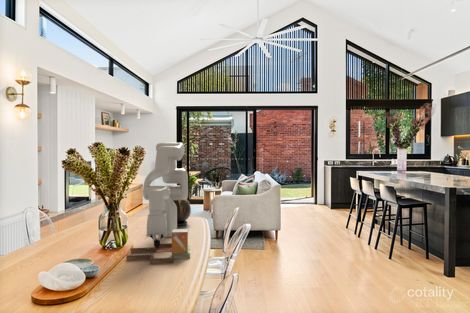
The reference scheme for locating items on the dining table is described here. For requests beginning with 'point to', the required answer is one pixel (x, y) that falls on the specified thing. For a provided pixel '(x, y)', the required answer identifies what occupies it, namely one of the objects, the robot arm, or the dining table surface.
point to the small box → (180, 241)
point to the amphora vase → (182, 211)
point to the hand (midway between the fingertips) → (157, 247)
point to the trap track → (162, 248)
